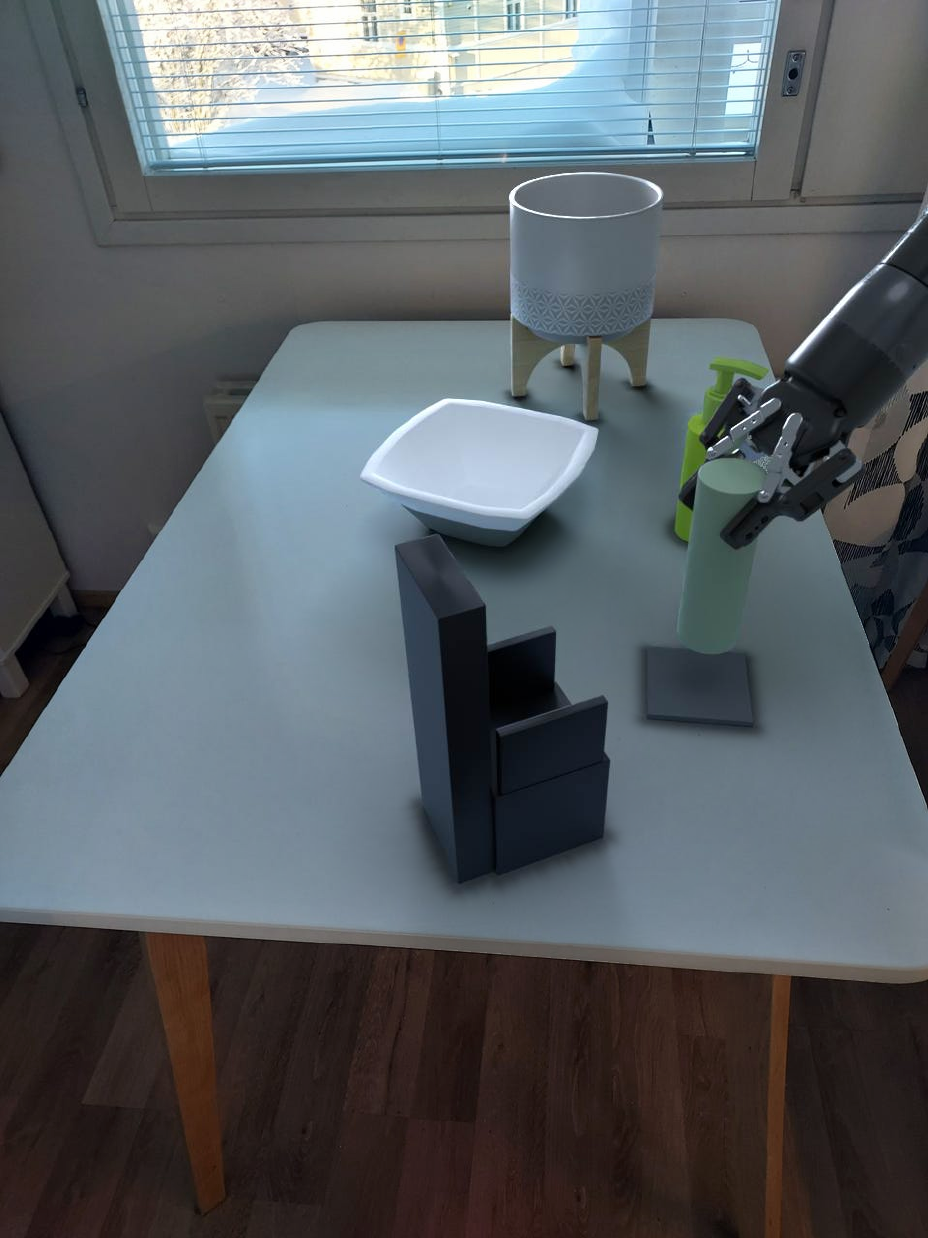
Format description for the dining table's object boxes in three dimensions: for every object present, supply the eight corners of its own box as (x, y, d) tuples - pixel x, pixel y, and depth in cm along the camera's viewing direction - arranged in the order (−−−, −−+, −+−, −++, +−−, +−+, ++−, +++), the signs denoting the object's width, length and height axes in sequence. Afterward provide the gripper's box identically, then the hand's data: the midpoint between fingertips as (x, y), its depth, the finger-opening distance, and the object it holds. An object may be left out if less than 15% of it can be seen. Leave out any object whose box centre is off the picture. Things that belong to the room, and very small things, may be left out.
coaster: (752, 726, 81) (753, 722, 80) (647, 718, 82) (647, 714, 81) (744, 657, 87) (744, 652, 87) (646, 650, 89) (647, 646, 88)
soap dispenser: (727, 554, 100) (757, 381, 87) (666, 536, 103) (687, 366, 90) (745, 526, 104) (776, 357, 91) (686, 510, 106) (708, 343, 94)
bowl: (536, 595, 96) (537, 527, 90) (349, 543, 104) (340, 478, 99) (611, 489, 110) (616, 426, 105) (442, 451, 119) (438, 390, 114)
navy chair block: (553, 756, 79) (561, 497, 62) (603, 837, 72) (627, 570, 56) (420, 801, 76) (391, 540, 59) (460, 889, 69) (440, 624, 53)
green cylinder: (740, 656, 78) (772, 495, 68) (677, 652, 79) (699, 492, 69) (735, 617, 82) (765, 458, 72) (675, 613, 83) (696, 456, 73)
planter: (503, 365, 138) (500, 177, 121) (628, 355, 139) (642, 167, 122) (521, 426, 123) (521, 223, 107) (661, 414, 124) (682, 210, 108)
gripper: (960, 414, 65) (785, 593, 69) (826, 338, 75) (682, 499, 80) (919, 357, 60) (734, 554, 65) (782, 285, 70) (632, 459, 75)
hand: (706, 522), depth 72 cm, fingers closed on green cylinder, 5 cm apart
